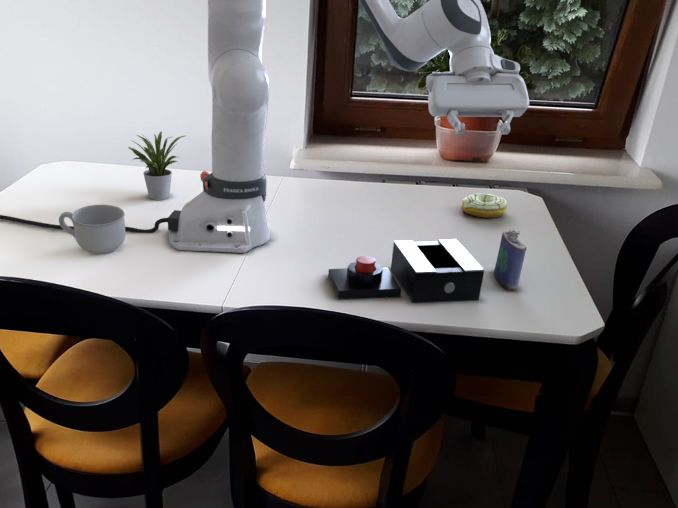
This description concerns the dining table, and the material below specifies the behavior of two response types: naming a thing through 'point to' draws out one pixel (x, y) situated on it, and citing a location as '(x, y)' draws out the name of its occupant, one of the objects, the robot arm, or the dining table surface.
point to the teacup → (96, 227)
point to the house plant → (157, 167)
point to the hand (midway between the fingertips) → (483, 133)
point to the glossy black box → (436, 271)
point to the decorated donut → (484, 205)
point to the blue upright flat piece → (509, 260)
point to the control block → (364, 283)
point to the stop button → (365, 264)
